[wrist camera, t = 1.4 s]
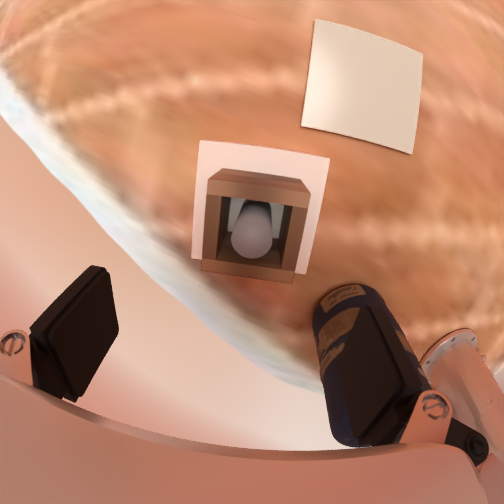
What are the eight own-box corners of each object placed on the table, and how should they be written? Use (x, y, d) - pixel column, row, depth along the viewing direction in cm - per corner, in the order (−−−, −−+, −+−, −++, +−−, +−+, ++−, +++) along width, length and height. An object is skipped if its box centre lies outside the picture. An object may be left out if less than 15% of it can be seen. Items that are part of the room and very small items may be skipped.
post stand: (321, 155, 25) (354, 169, 15) (301, 256, 30) (315, 319, 20) (209, 139, 25) (172, 143, 15) (200, 242, 30) (168, 298, 20)
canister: (296, 306, 32) (310, 442, 16) (364, 263, 30) (433, 385, 13) (332, 350, 35) (356, 467, 19) (392, 315, 32) (446, 425, 16)
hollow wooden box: (300, 179, 23) (311, 193, 17) (287, 250, 25) (292, 283, 20) (222, 168, 22) (207, 179, 17) (215, 240, 25) (201, 270, 20)
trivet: (419, 55, 19) (422, 54, 19) (408, 153, 24) (412, 154, 24) (314, 21, 19) (315, 18, 19) (300, 126, 24) (301, 125, 24)
